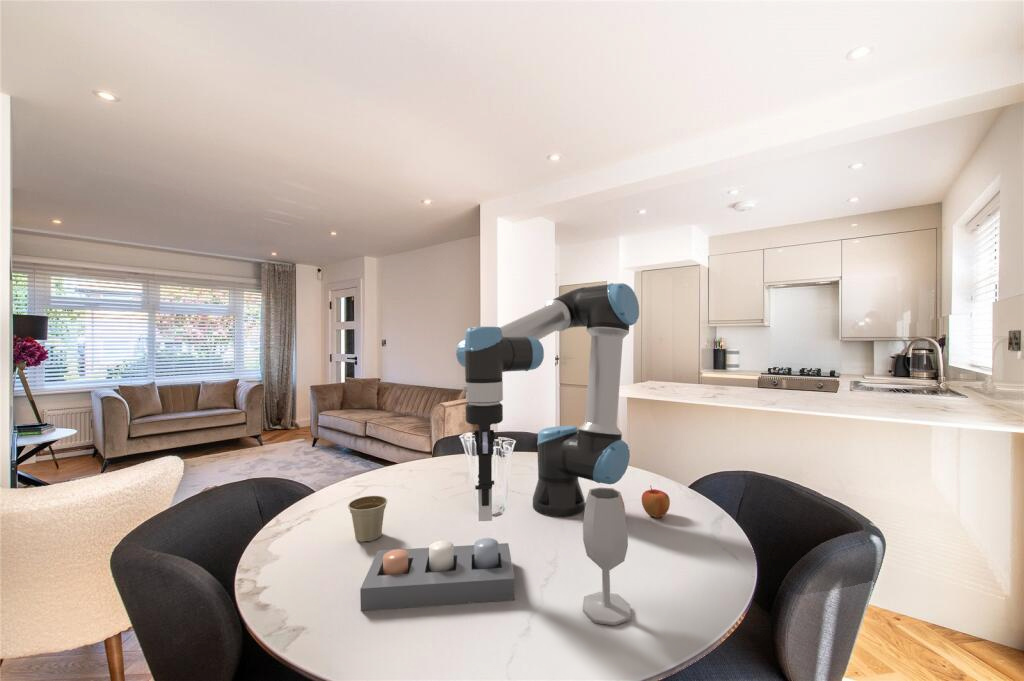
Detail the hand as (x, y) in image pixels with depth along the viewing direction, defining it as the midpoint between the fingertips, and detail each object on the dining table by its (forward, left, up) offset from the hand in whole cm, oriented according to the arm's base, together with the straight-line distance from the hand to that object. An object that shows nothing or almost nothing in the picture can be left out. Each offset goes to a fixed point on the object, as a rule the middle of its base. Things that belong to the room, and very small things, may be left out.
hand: (485, 519), depth 85 cm
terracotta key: (+18, 0, -10) cm, 21 cm away
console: (+9, 0, -12) cm, 15 cm away
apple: (-47, -26, -13) cm, 55 cm away
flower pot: (+29, -23, -13) cm, 39 cm away
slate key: (0, 0, -9) cm, 9 cm away
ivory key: (+9, 0, -9) cm, 13 cm away
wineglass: (-21, +12, -13) cm, 27 cm away
